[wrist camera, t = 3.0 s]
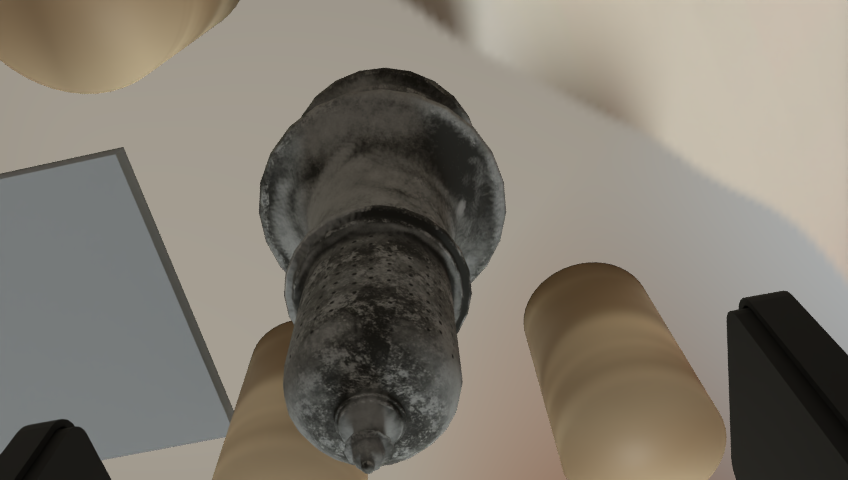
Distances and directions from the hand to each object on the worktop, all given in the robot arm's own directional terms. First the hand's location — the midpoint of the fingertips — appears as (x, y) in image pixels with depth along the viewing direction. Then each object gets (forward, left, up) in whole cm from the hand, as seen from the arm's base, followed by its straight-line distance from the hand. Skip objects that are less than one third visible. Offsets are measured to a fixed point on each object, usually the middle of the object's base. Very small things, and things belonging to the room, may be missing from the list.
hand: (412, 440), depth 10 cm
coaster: (+3, -13, -11) cm, 17 cm away
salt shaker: (0, -1, -11) cm, 11 cm away
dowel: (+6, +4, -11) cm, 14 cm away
